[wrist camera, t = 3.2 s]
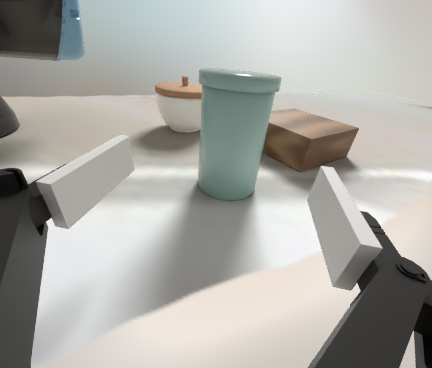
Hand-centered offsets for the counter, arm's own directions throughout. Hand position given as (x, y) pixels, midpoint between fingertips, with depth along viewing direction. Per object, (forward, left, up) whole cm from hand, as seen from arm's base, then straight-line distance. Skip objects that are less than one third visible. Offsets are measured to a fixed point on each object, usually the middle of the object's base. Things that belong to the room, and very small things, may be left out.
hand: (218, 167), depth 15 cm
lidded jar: (-28, +11, -7) cm, 31 cm away
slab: (-11, +24, -7) cm, 28 cm away
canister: (-7, +6, -7) cm, 12 cm away
